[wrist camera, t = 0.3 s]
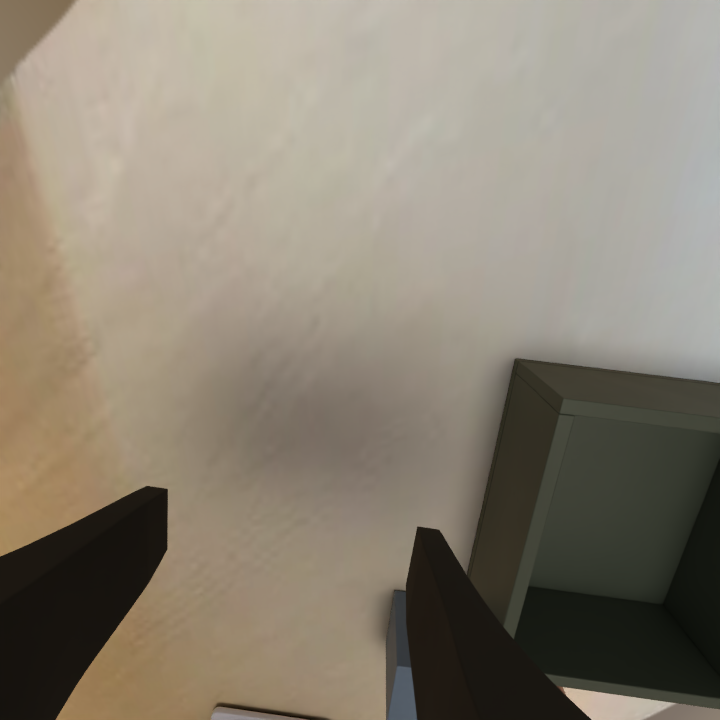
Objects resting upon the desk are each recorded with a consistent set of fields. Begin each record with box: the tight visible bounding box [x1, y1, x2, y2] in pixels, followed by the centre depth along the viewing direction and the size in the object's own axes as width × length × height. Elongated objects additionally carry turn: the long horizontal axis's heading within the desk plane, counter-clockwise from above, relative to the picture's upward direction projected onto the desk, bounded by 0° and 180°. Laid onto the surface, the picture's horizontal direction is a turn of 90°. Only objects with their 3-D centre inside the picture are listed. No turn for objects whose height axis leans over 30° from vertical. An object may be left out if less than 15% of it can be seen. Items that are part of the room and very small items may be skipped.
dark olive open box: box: [467, 359, 720, 709], centre depth 19 cm, size 13×11×6 cm
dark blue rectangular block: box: [386, 590, 417, 720], centre depth 22 cm, size 4×4×4 cm
